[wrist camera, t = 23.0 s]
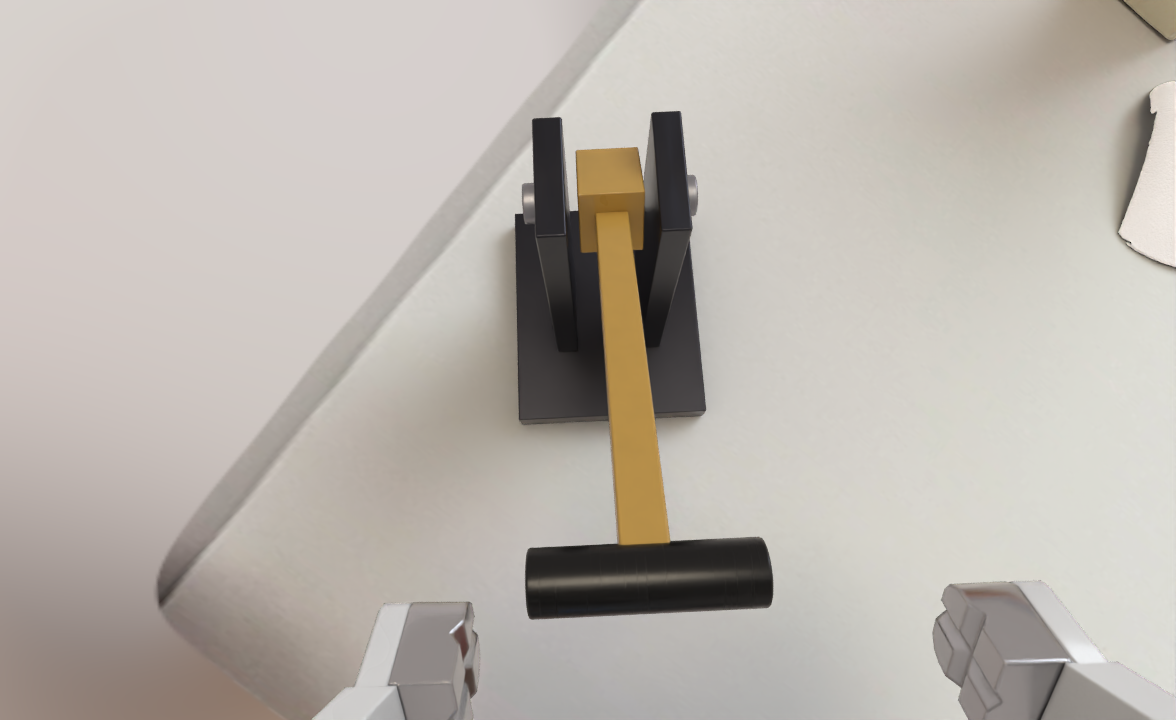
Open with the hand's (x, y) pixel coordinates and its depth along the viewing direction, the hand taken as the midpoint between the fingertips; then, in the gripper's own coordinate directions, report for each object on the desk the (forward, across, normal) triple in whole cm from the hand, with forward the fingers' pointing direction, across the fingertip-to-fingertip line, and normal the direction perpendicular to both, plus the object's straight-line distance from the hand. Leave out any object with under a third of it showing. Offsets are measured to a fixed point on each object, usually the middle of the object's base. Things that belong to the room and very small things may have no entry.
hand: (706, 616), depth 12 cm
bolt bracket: (+24, -1, -5) cm, 25 cm away
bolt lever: (+10, -1, 0) cm, 10 cm away
